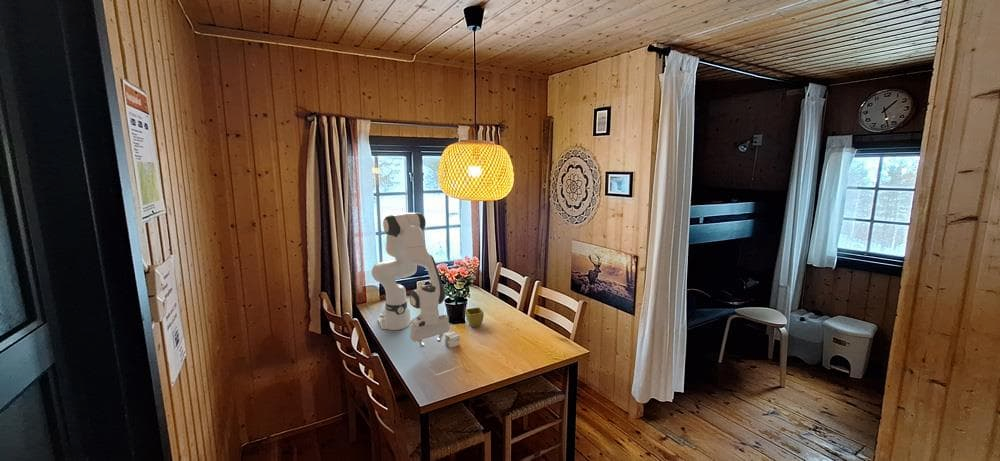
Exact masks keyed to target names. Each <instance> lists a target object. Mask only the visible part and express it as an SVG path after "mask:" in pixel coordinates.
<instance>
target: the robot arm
mask: <svg viewBox="0 0 1000 461" xmlns="http://www.w3.org/2000/svg"><path fill="white" fill-rule="evenodd" d="M382 224H383V230H384V232H385V233H386V239H385V240H386V242H385V251H386V253H387V255H389V256H391V257H393V258H394V259H392V260H387V261H385V260H384V261H381V262H378V263H375V264H374V265H373V267H372V269H371V276H372V278H373V280H375V281H376V282H378V283H380V284H381V285H382V287H383V288H384V289H383V290H384V292H385V299H386V301H385V306H384V309H382V310H381V314H379V317H378V318H377V323H379V326H380V328H381V330H389V331H390V330H391V331H398V330H403V329H406V328H408V327H410V332H409V336H410V337H409V338H410V339H411V341H413V342H418V343H419V347H420V348H421V349H422V348H425V343H423V340H425V339H429V338H431V337H435V336H438V337H437V339H436V341H437V343H441V342H442V339H443V336H444V334H447V333H450V329H451V328H450V323H449V318H450V317H449V315H448V314H446V313H444V314H440V311H439V305H441V304H443V302H444V301H445V299H446V296H447V295H446V290H445V288H444V285H443V284H442V281H441V276H440V274H439V271H438V267H437V264H436V261H435V258H434V257H433V255H431V254H429V252H428V250H427V247H426V240H425V237H424V232H423V231H424V230H425V227H426V218H425V216H424V215H423V214H422V213H421V212H404V213H403V212H402V213H398V214H390V215H387V216H385V217H384V219H383V222H382ZM418 266H420V267H423V268H425V269H426V270H427V274H428V276H429V279H430V283H431V284H425V285H422V286H421V287H419V288H415V289H412V291H411V292H410V293H409V303H410V306H412V308H416V309H418V310H420V314H419V315H417V316H416V317H414V318H411V313H410V308H409V307H408V301H407V290H406V288H405V286H404V285H402V284H400V283H397V280H399V279H404V278H409V277H411V276H413V275H415V274H416V273H417V270H418ZM410 325H411V326H410Z"/></svg>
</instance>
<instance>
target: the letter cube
mask: <svg viewBox="0 0 1000 461" xmlns="http://www.w3.org/2000/svg"><path fill="white" fill-rule="evenodd" d="M460 336H461V335H460V334H458V333H457V332H456V331H451V332H447V333H444V344H445V345H446V346H447V347H448V348H450V349H453V348H455V347H458V346H461V345H460V344H461V342H460V340H461V338H460Z"/></svg>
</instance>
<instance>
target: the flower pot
mask: <svg viewBox="0 0 1000 461" xmlns="http://www.w3.org/2000/svg"><path fill="white" fill-rule="evenodd" d="M464 312H465V317H466V321H467V323H468V325H469V326H470V328H476V327H477V328H478V327H480V326H481V325H482V323H483V321H484V315H485V314H484V313H485V312H484V311H483V310H482V309H481V307H478V306H477V307H473V308H467V309H466V308H465V310H464Z"/></svg>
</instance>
